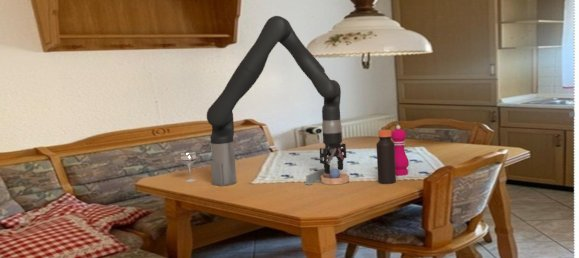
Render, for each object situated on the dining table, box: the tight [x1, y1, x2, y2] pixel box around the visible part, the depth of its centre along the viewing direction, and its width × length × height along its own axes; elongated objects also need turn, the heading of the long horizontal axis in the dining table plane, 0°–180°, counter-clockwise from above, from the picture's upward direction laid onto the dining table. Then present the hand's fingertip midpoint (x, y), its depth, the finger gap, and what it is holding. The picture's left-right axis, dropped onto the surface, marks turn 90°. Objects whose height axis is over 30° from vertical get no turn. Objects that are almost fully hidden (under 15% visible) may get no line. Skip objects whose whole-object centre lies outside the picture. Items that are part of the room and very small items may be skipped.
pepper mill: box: [391, 124, 410, 176], centre depth 231 cm, size 7×7×20 cm
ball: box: [329, 168, 341, 178], centre depth 225 cm, size 4×4×4 cm
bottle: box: [376, 129, 397, 185], centre depth 218 cm, size 7×7×20 cm
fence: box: [303, 168, 325, 186], centre depth 229 cm, size 14×3×4 cm, turn 149°
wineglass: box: [180, 151, 197, 183], centre depth 246 cm, size 7×7×12 cm
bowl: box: [320, 172, 350, 186], centre depth 226 cm, size 11×11×2 cm
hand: (334, 171), depth 225 cm, fingers open, 8 cm apart
